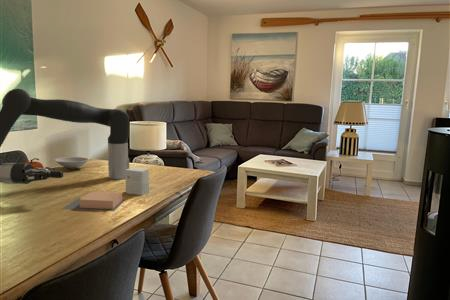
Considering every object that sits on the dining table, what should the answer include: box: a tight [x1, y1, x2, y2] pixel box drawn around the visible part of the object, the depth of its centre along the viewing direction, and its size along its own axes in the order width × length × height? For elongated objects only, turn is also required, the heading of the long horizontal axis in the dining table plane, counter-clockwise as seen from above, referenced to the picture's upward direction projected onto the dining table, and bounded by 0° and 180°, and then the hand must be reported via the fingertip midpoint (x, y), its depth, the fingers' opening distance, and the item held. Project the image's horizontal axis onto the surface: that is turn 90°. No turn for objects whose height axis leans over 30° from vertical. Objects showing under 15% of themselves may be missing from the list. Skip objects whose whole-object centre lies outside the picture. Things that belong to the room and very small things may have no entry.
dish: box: [54, 156, 90, 170], centre depth 187 cm, size 18×14×5 cm
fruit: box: [24, 157, 45, 169], centre depth 163 cm, size 10×10×10 cm
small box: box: [125, 167, 150, 196], centre depth 144 cm, size 8×6×10 cm
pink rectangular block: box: [79, 191, 123, 209], centre depth 128 cm, size 3×10×12 cm
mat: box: [61, 197, 126, 212], centre depth 128 cm, size 18×13×1 cm
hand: (62, 174), depth 127 cm, fingers closed
